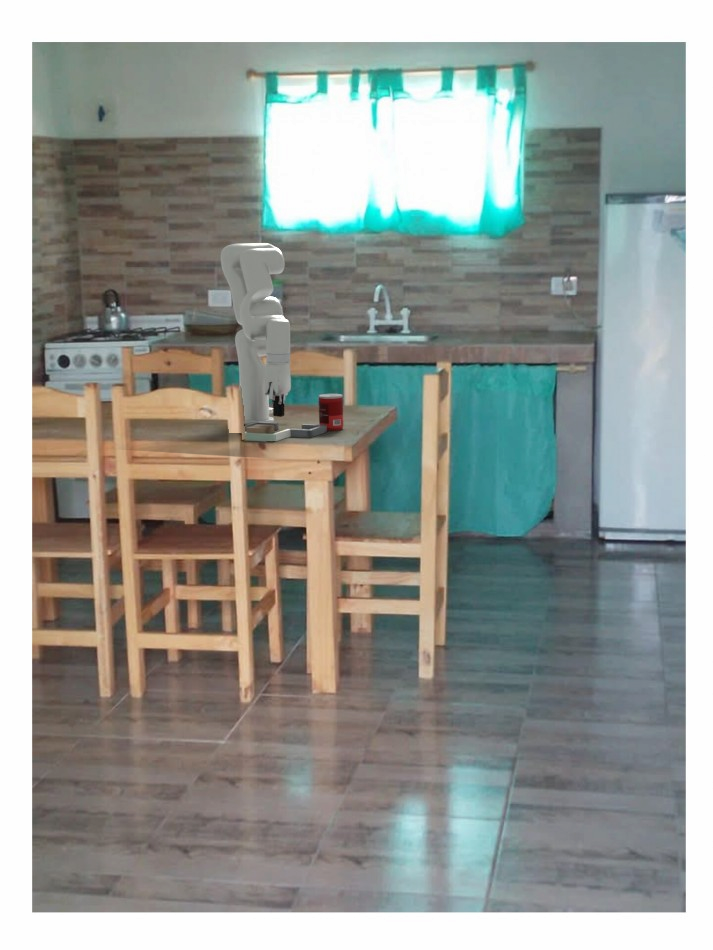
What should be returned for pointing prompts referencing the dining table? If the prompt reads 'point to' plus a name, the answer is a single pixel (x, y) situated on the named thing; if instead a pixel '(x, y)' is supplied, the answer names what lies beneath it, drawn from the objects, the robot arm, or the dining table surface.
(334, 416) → the canned food
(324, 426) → the tray
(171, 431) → the dining table surface
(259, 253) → the robot arm
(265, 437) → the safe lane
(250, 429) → the walnut block
